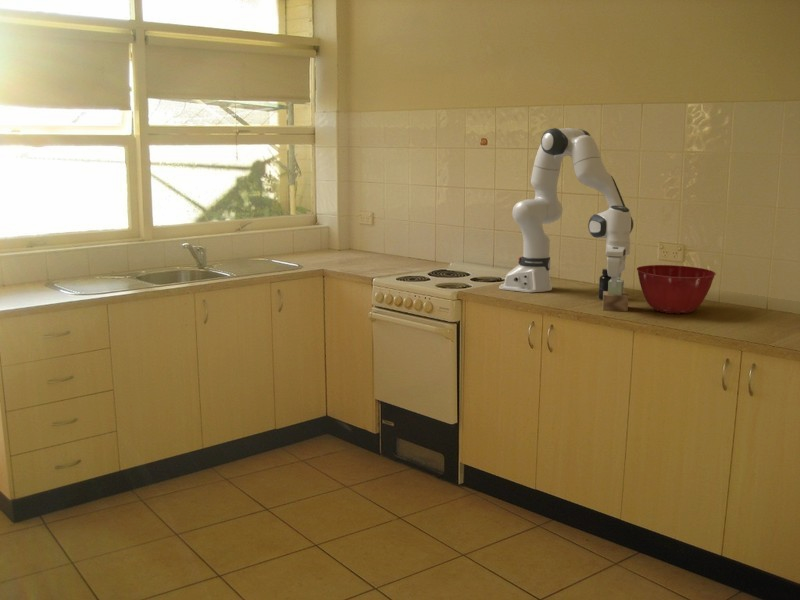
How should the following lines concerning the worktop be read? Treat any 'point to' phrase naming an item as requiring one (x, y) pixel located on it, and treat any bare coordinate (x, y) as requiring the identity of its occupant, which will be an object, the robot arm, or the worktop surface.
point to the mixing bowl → (674, 287)
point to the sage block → (618, 289)
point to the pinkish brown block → (615, 301)
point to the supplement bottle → (603, 283)
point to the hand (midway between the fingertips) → (615, 285)
